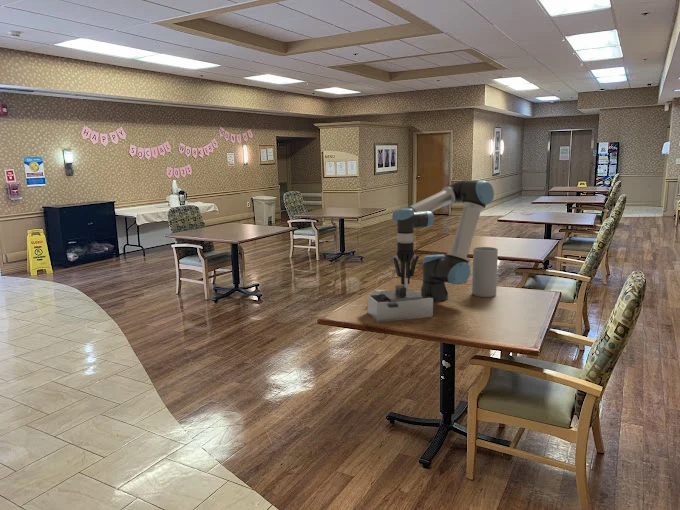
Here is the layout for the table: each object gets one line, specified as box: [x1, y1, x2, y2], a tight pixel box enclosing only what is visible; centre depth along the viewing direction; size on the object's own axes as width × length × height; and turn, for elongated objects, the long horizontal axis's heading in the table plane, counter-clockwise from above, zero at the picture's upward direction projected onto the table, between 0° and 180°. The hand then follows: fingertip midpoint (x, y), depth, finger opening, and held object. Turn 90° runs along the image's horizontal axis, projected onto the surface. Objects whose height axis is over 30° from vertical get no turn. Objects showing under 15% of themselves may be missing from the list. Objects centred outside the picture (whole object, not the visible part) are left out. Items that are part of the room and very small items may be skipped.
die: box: [371, 289, 386, 295], centre depth 263 cm, size 8×9×10 cm
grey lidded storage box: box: [366, 289, 434, 323], centre depth 247 cm, size 28×19×9 cm
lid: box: [380, 284, 423, 302], centre depth 246 cm, size 16×16×4 cm
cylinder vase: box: [471, 246, 499, 298], centre depth 277 cm, size 12×12×25 cm
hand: (405, 290), depth 246 cm, fingers closed
